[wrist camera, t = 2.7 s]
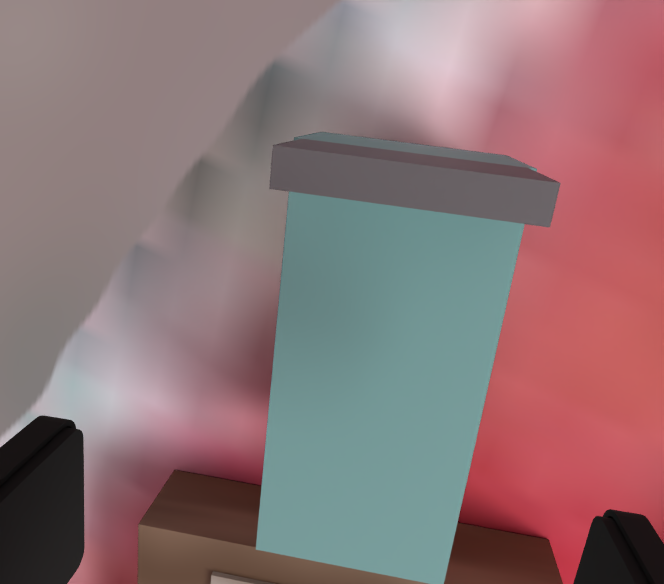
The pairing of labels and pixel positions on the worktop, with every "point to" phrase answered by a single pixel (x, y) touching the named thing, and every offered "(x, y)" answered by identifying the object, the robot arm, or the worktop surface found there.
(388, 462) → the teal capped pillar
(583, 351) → the worktop surface
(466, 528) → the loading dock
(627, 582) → the robot arm
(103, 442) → the worktop surface
